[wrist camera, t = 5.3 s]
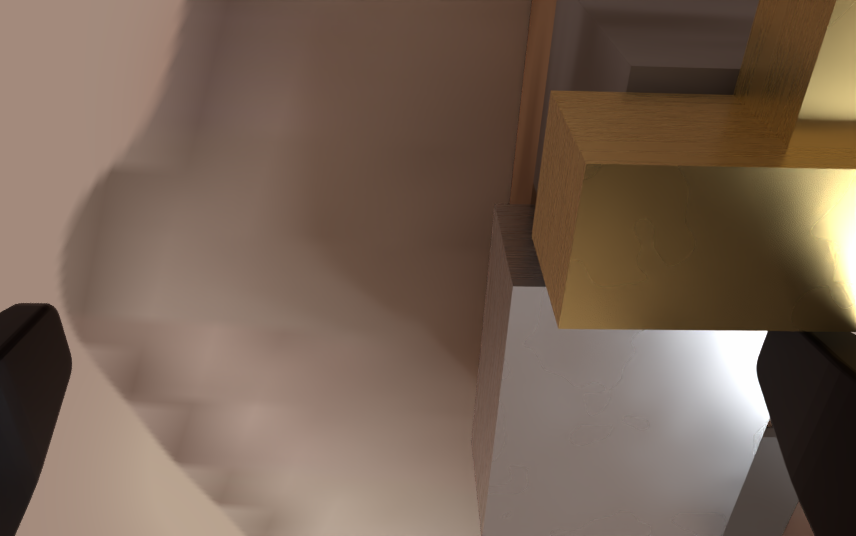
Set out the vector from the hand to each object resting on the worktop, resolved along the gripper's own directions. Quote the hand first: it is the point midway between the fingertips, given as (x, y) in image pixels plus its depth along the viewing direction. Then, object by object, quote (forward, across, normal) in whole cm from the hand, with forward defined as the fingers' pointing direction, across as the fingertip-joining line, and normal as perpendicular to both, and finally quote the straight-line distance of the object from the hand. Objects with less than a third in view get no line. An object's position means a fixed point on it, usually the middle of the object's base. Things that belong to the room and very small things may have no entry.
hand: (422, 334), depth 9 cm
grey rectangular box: (+6, -4, +5) cm, 9 cm away
